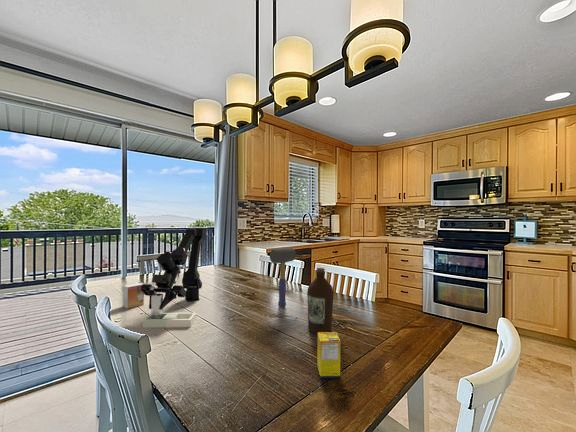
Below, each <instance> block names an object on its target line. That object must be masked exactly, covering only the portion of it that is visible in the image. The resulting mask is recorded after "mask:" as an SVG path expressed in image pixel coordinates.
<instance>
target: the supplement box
mask: <svg viewBox="0 0 576 432" xmlns="http://www.w3.org/2000/svg"><path fill="white" fill-rule="evenodd" d="M316 354H317V356H316V357H317V358H316V359H317V365H316V368H317V371H319V372H318V375H320V376H319V379H320V378H321V379H337V378H336V377H340V378H341V338H339V334H338V333H337V331H334V332H333V331H331V332H318V334H317V353H316Z"/></svg>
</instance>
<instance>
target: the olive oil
mask: <svg viewBox="0 0 576 432" xmlns="http://www.w3.org/2000/svg"><path fill="white" fill-rule="evenodd" d="M306 293H307V294H306V295H307V325H308V327H307V328H308V329H309V330H308V331H309V332H310V333H311V332H312V334H314V333H315V334H314V335H318V332H333V331H332V330H333V329H332V327H333V310H334V309H333V307H334V297H335V295H334V293H335V292H334V288H333V286H332V285H331V283H330V282H329V281H328V280H327V278H326V272H325V268H324V267H317V268H316V278H315V279H314V280H313V281H312V282H311V283H309V285H308V288H307V292H306Z"/></svg>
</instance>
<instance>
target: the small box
mask: <svg viewBox="0 0 576 432" xmlns="http://www.w3.org/2000/svg"><path fill="white" fill-rule="evenodd" d="M143 284H144V283H141V282H137V283H132V284H131V283H130V284H126V285H125V284H123V285H122V307H123V308H125V309H132V308H136V307H141V306H145V305H144V303H145V295H144V294H143V292H142V291H141V290H140V287H141V286H142V285H143Z"/></svg>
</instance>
